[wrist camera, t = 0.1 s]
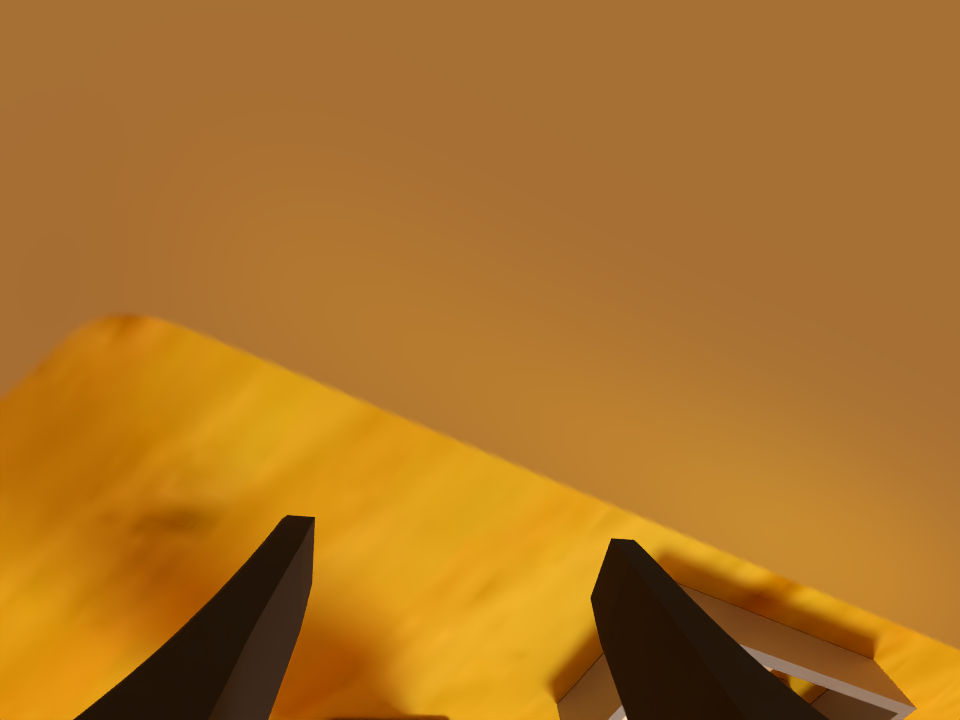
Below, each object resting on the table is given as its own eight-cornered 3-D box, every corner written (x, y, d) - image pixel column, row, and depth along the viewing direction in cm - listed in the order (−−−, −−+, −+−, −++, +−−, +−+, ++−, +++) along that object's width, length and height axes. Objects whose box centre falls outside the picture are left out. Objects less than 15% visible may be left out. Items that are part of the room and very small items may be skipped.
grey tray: (874, 660, 31) (916, 708, 28) (755, 760, 35) (782, 811, 32) (669, 580, 26) (696, 628, 24) (556, 705, 30) (568, 759, 27)
